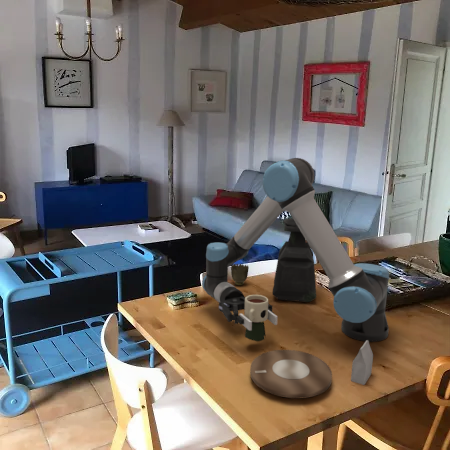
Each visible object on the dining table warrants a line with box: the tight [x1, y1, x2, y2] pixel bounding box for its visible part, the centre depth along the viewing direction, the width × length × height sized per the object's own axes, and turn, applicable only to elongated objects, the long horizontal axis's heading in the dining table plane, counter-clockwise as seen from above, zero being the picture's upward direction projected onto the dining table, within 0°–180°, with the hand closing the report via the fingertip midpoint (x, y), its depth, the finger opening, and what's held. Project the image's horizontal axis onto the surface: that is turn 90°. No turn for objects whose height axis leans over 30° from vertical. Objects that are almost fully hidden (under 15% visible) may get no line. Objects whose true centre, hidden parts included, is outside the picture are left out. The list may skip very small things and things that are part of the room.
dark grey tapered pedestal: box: [272, 217, 317, 303], centre depth 189 cm, size 18×16×30 cm
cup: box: [230, 263, 249, 287], centre depth 202 cm, size 8×7×8 cm
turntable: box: [249, 349, 333, 399], centre depth 133 cm, size 22×22×2 cm
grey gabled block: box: [350, 340, 374, 386], centre depth 135 cm, size 4×7×10 cm, turn 148°
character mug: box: [243, 294, 269, 342], centre depth 149 cm, size 11×7×13 cm, turn 158°
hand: (263, 323), depth 144 cm, fingers closed on character mug, 8 cm apart
